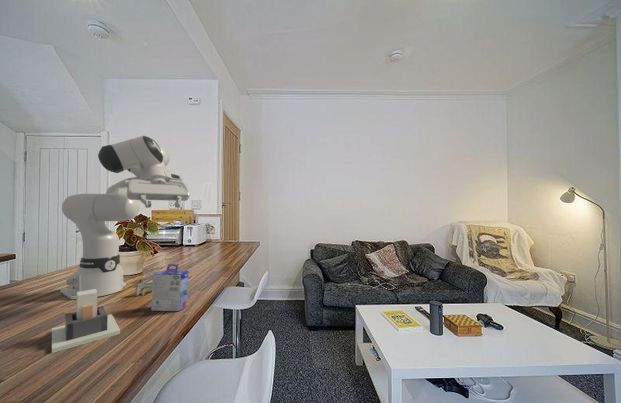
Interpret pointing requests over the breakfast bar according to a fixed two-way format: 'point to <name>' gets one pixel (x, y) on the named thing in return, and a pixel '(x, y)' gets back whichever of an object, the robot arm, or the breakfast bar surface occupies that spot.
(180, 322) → the breakfast bar surface
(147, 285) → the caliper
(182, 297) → the ink cartridge box
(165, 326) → the breakfast bar surface
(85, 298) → the cream square peg
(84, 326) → the socket
